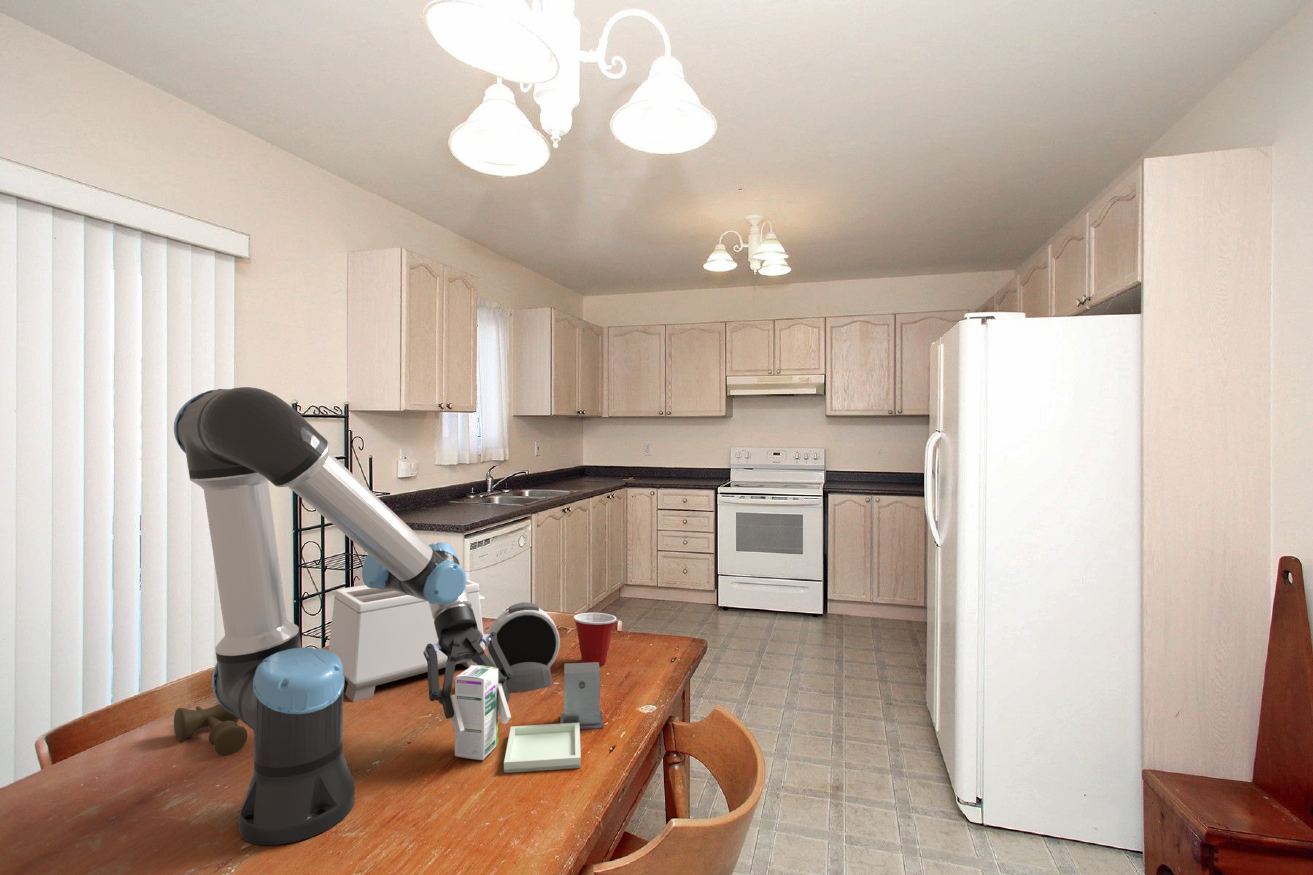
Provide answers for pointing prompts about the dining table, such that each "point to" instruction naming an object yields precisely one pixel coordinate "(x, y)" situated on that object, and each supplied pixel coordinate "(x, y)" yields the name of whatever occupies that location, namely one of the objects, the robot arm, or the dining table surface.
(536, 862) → the dining table surface
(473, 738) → the syrup box
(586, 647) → the plastic cup
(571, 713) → the gray phone stand
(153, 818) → the dining table surface
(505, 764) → the tray
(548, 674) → the alarm clock
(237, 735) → the kendama
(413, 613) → the toaster
